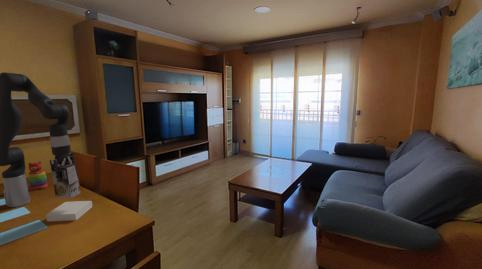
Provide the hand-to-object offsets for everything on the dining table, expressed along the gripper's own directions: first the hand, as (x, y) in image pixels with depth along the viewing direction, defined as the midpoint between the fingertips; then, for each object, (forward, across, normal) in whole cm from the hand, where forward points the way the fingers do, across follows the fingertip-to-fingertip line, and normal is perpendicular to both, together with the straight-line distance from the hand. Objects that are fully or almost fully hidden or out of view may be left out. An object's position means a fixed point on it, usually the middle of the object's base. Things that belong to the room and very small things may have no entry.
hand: (65, 175), depth 116 cm
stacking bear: (+21, -38, -46) cm, 63 cm away
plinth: (+22, 0, 0) cm, 22 cm away
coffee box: (+11, 0, 0) cm, 11 cm away
